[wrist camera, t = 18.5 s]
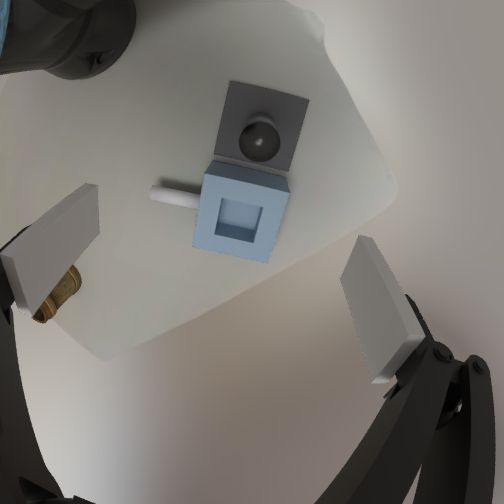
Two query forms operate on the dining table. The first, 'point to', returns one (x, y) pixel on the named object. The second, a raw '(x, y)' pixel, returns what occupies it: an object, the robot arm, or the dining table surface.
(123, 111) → the dining table surface
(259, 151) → the bottle
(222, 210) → the block
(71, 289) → the wooden mug
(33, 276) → the robot arm
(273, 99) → the mat
